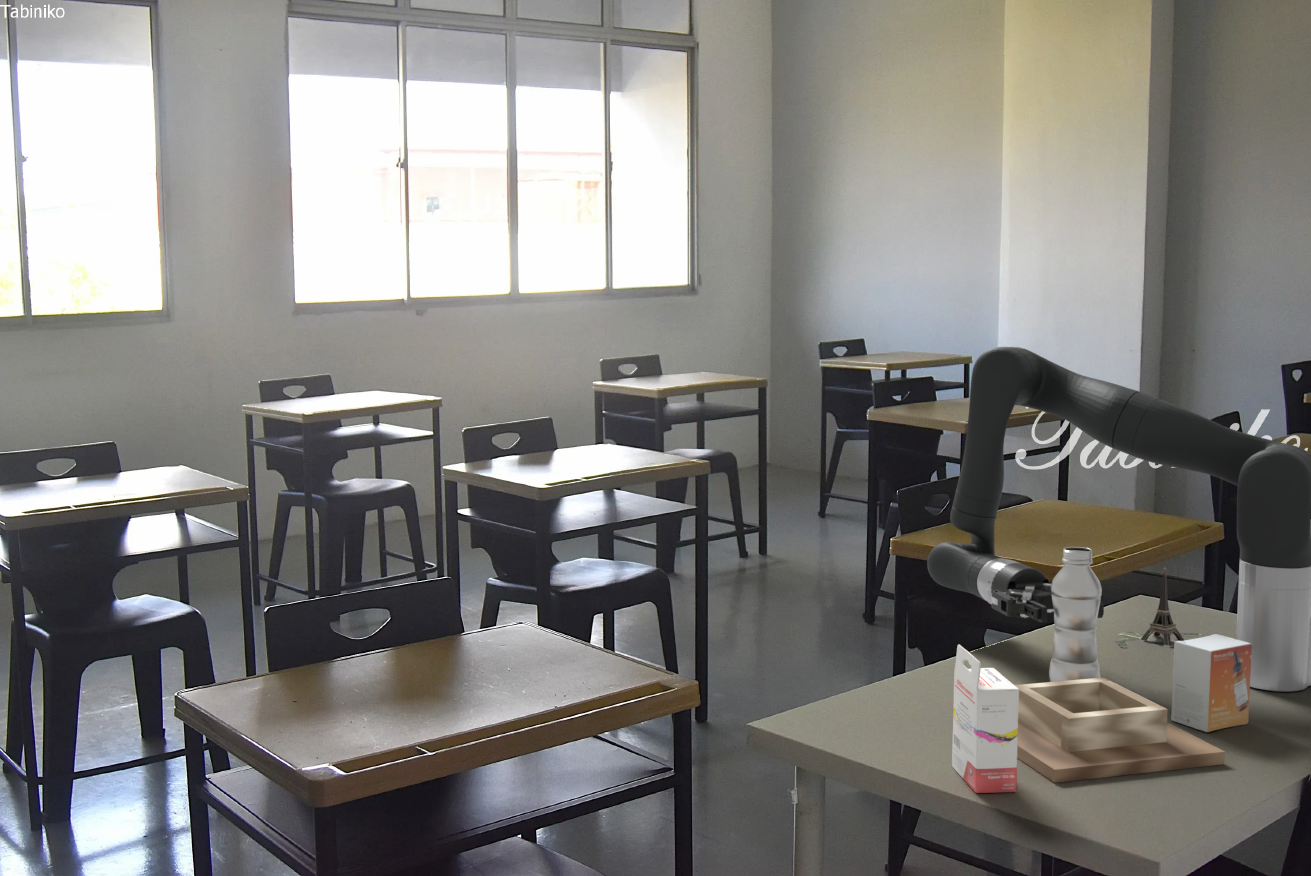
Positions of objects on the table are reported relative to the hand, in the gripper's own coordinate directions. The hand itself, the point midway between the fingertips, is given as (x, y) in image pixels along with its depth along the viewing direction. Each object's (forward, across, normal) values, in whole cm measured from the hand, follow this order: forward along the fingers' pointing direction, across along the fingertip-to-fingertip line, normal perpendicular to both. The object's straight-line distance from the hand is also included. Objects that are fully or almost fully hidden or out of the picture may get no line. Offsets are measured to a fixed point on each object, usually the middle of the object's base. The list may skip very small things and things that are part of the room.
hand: (1073, 612), depth 172 cm
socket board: (+18, -9, +11) cm, 23 cm away
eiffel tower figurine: (-19, +28, +12) cm, 36 cm away
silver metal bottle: (+1, 0, +11) cm, 11 cm away
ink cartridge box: (+26, -27, +11) cm, 39 cm away
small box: (+16, +10, +11) cm, 22 cm away
